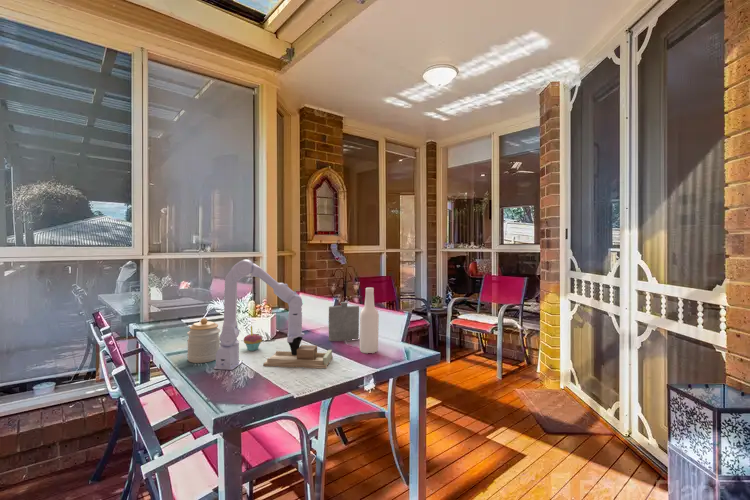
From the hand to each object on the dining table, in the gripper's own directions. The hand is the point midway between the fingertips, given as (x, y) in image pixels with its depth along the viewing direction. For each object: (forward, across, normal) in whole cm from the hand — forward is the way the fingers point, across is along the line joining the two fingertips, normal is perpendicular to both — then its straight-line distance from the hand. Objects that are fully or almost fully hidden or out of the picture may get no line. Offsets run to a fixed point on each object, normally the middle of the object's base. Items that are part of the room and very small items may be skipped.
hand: (294, 354), depth 157 cm
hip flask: (+3, +37, -15) cm, 40 cm away
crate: (+2, 0, -5) cm, 6 cm away
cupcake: (+3, +15, +25) cm, 29 cm away
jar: (+3, -1, +40) cm, 40 cm away
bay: (+3, 0, -2) cm, 4 cm away
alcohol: (+3, +19, -30) cm, 36 cm away
